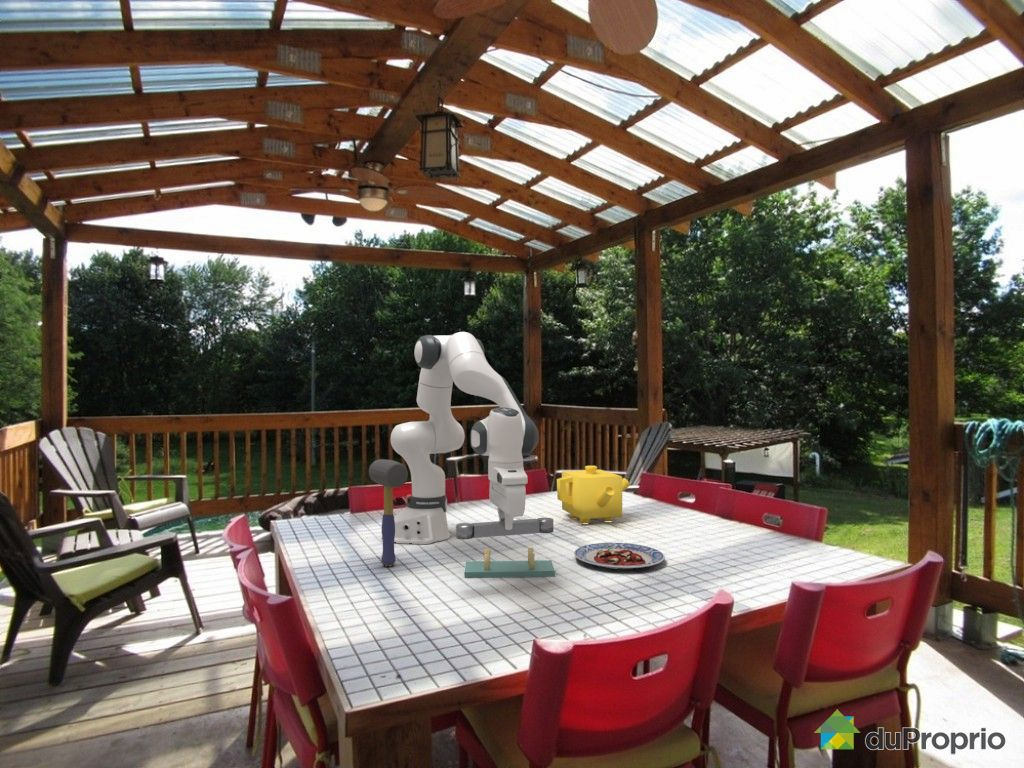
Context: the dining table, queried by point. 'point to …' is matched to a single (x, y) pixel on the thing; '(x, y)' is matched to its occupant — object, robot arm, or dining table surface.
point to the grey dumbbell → (498, 528)
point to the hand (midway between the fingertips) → (505, 527)
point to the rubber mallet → (388, 501)
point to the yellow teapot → (591, 494)
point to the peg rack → (509, 567)
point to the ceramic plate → (619, 555)
